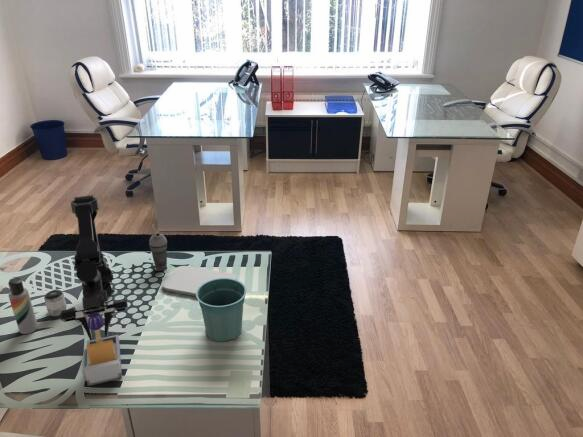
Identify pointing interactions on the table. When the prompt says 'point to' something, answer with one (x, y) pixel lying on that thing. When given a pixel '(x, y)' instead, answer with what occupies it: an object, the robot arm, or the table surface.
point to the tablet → (191, 279)
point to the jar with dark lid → (55, 302)
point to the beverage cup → (159, 250)
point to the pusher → (101, 352)
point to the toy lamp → (96, 325)
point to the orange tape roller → (104, 365)
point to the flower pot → (222, 307)
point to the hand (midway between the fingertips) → (98, 338)
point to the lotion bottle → (22, 306)
